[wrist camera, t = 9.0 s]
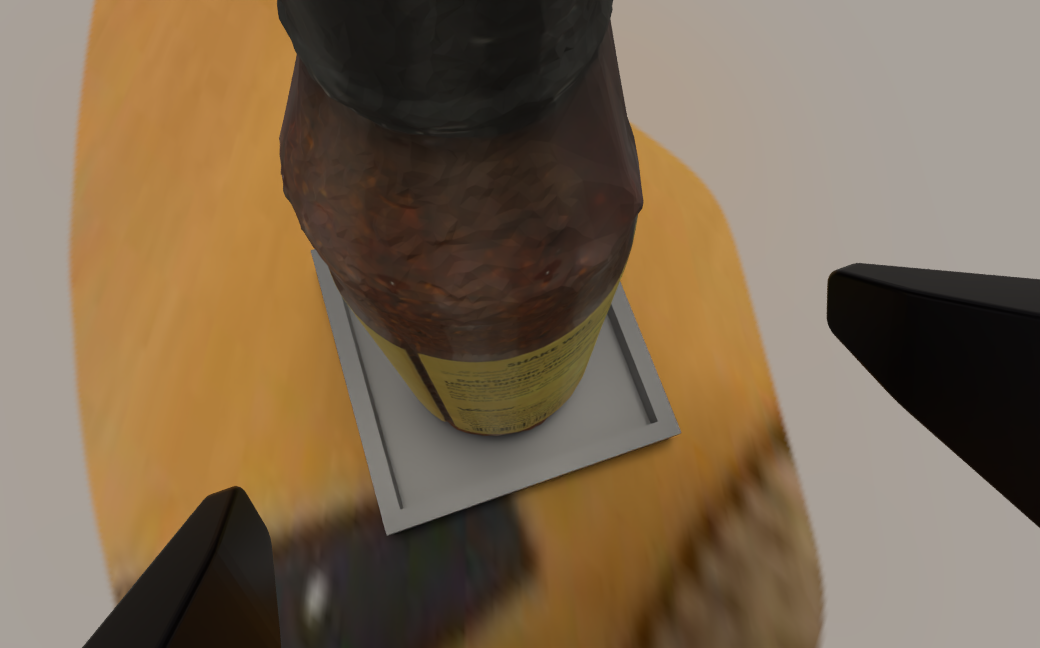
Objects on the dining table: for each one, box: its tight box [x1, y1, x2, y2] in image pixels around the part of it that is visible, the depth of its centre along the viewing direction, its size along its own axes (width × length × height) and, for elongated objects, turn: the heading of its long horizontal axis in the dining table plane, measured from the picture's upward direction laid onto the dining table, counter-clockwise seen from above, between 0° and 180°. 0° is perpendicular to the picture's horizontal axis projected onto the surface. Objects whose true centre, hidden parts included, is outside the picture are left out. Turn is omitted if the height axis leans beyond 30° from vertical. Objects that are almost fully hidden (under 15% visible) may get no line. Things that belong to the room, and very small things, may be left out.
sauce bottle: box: [277, 0, 643, 436], centre depth 13 cm, size 7×6×20 cm
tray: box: [311, 249, 681, 535], centre depth 22 cm, size 10×10×2 cm
